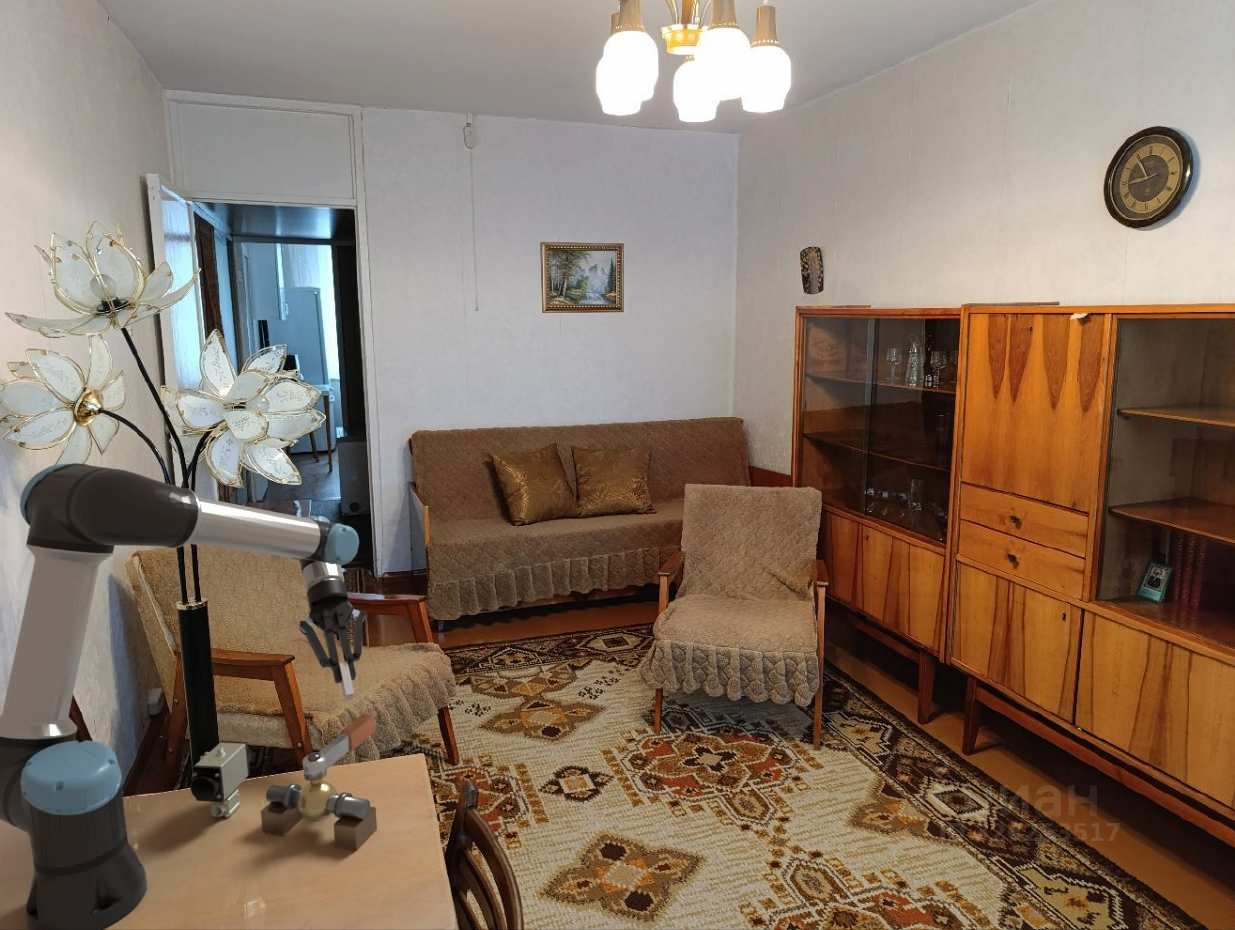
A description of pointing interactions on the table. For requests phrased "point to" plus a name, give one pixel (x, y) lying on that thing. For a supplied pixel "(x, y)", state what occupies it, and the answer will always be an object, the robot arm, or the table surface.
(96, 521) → the robot arm
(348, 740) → the valve lever
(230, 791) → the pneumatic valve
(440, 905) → the table surface
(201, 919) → the table surface
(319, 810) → the valve stand
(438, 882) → the table surface
